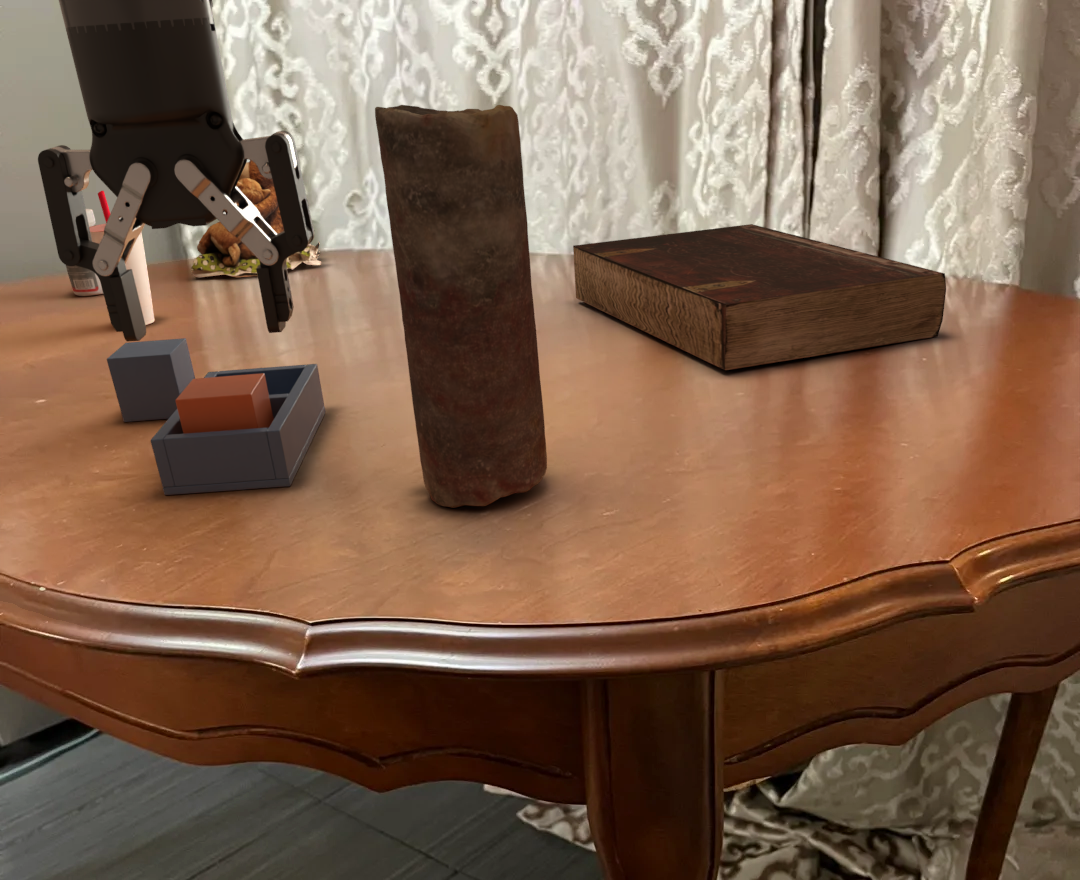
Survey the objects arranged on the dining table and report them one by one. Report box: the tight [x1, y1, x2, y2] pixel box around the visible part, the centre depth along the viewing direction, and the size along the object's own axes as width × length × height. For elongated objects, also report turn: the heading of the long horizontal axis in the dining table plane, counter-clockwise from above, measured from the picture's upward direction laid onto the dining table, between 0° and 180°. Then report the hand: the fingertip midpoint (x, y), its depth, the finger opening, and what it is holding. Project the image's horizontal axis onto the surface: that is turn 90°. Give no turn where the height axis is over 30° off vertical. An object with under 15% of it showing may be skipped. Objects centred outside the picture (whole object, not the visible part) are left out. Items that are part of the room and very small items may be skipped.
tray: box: [150, 363, 326, 496], centre depth 73 cm, size 8×15×4 cm, turn 1°
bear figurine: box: [190, 160, 323, 279], centre depth 129 cm, size 14×15×12 cm
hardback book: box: [572, 223, 947, 371], centre depth 94 cm, size 29×19×5 cm, turn 20°
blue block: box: [106, 337, 196, 423], centre depth 83 cm, size 5×5×5 cm
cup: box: [89, 190, 156, 326], centre depth 107 cm, size 5×5×12 cm
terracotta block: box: [176, 373, 274, 434], centre depth 70 cm, size 5×5×5 cm
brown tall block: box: [374, 104, 548, 508], centre depth 60 cm, size 8×7×20 cm
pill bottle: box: [65, 208, 104, 297], centre depth 123 cm, size 5×5×8 cm
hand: (207, 334), depth 67 cm, fingers open, 8 cm apart
